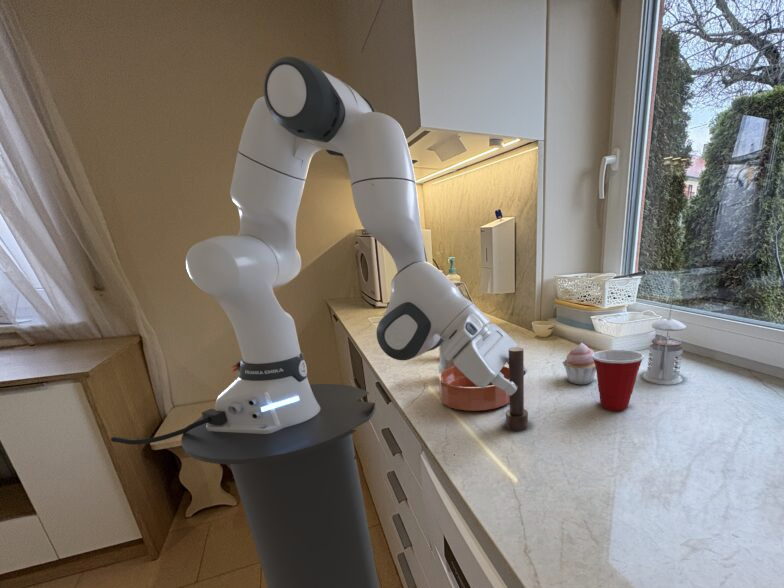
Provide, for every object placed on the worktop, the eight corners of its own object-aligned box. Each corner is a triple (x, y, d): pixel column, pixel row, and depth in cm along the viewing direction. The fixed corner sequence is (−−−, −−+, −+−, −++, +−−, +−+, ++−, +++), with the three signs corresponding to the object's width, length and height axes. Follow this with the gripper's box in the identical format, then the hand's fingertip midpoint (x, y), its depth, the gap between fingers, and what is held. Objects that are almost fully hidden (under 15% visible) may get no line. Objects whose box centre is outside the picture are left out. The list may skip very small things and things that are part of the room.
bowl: (437, 415, 87) (434, 389, 85) (444, 386, 103) (442, 363, 101) (517, 412, 88) (517, 386, 86) (512, 383, 104) (512, 361, 102)
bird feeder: (684, 374, 108) (698, 277, 99) (679, 389, 98) (693, 283, 89) (646, 369, 112) (656, 275, 103) (637, 383, 103) (647, 281, 94)
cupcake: (586, 372, 111) (588, 336, 107) (605, 383, 103) (608, 345, 99) (555, 377, 108) (556, 340, 104) (573, 389, 100) (574, 349, 96)
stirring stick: (506, 431, 80) (504, 352, 74) (505, 421, 84) (503, 346, 78) (529, 430, 80) (528, 352, 74) (526, 420, 84) (526, 345, 78)
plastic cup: (621, 393, 97) (625, 344, 93) (649, 411, 87) (655, 357, 83) (580, 399, 94) (582, 349, 89) (604, 419, 84) (608, 363, 80)
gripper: (473, 329, 88) (519, 374, 89) (437, 358, 69) (495, 414, 71) (493, 309, 85) (539, 356, 87) (460, 333, 67) (520, 392, 68)
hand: (519, 382), depth 79 cm, fingers open, 8 cm apart
